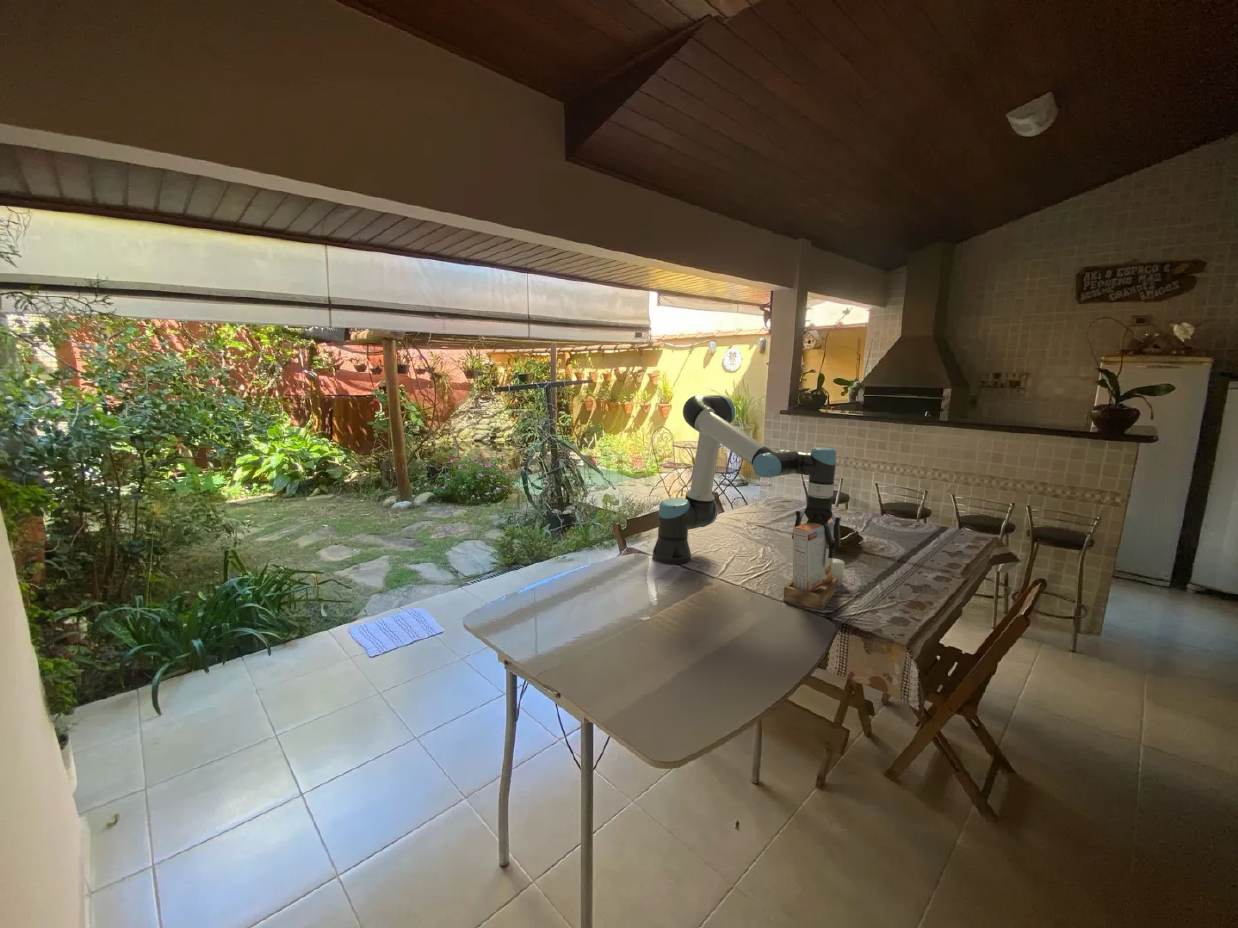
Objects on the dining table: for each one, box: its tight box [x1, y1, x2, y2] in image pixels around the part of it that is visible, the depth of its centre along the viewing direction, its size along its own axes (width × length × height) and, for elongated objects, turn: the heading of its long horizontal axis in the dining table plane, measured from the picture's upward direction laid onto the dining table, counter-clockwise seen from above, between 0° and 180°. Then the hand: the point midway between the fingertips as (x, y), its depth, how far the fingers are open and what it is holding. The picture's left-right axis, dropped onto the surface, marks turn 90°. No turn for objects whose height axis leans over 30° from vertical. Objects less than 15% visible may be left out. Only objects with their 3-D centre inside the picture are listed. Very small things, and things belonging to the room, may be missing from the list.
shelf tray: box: [782, 576, 838, 611], centre depth 161 cm, size 12×20×4 cm, turn 144°
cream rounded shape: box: [832, 558, 845, 587], centre depth 171 cm, size 6×6×8 cm
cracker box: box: [792, 519, 834, 592], centre depth 158 cm, size 14×6×21 cm, turn 125°
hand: (813, 564), depth 159 cm, fingers closed on cracker box, 7 cm apart
